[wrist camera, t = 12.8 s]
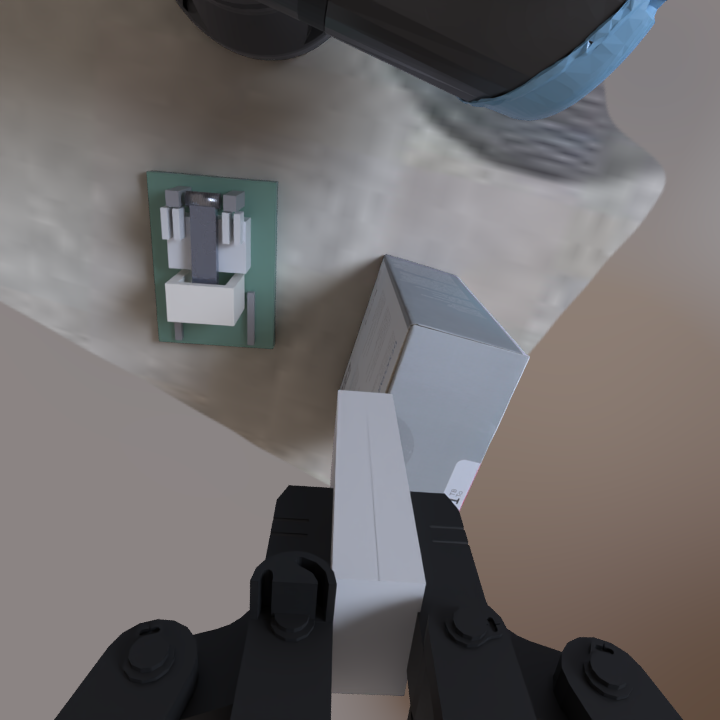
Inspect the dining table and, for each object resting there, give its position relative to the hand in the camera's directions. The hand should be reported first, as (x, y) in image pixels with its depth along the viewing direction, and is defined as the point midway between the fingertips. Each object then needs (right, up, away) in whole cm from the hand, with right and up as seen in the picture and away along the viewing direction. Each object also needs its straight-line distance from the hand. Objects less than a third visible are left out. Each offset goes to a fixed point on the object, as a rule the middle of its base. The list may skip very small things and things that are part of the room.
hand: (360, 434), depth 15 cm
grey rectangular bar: (-13, +11, +28) cm, 33 cm away
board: (-13, +11, +32) cm, 37 cm away
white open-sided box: (-13, +8, +32) cm, 35 cm away
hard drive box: (+3, +4, +36) cm, 36 cm away
